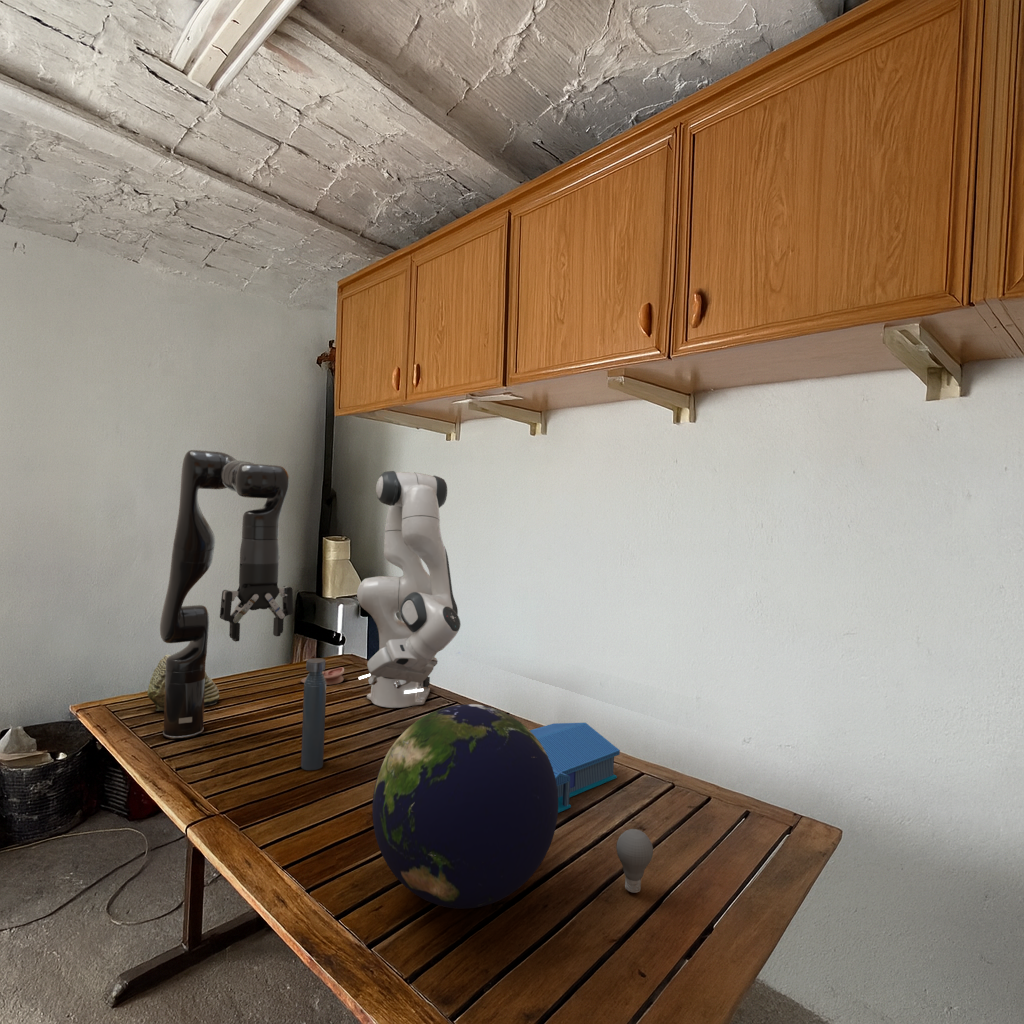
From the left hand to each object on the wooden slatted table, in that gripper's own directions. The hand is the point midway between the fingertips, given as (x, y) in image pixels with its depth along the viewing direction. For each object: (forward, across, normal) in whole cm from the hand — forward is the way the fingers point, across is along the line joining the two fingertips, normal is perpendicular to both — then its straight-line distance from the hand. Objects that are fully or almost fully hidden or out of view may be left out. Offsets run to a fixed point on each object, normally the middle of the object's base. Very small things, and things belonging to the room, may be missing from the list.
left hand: (256, 638), depth 132 cm
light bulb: (+33, -36, +71) cm, 86 cm away
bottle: (+33, -17, -7) cm, 38 cm away
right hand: (+22, -45, -21) cm, 54 cm away
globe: (+33, -14, +53) cm, 64 cm away
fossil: (+33, -6, -67) cm, 75 cm away
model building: (+33, -50, +33) cm, 69 cm away
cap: (+9, -17, -7) cm, 20 cm away
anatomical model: (+33, -50, -67) cm, 90 cm away
